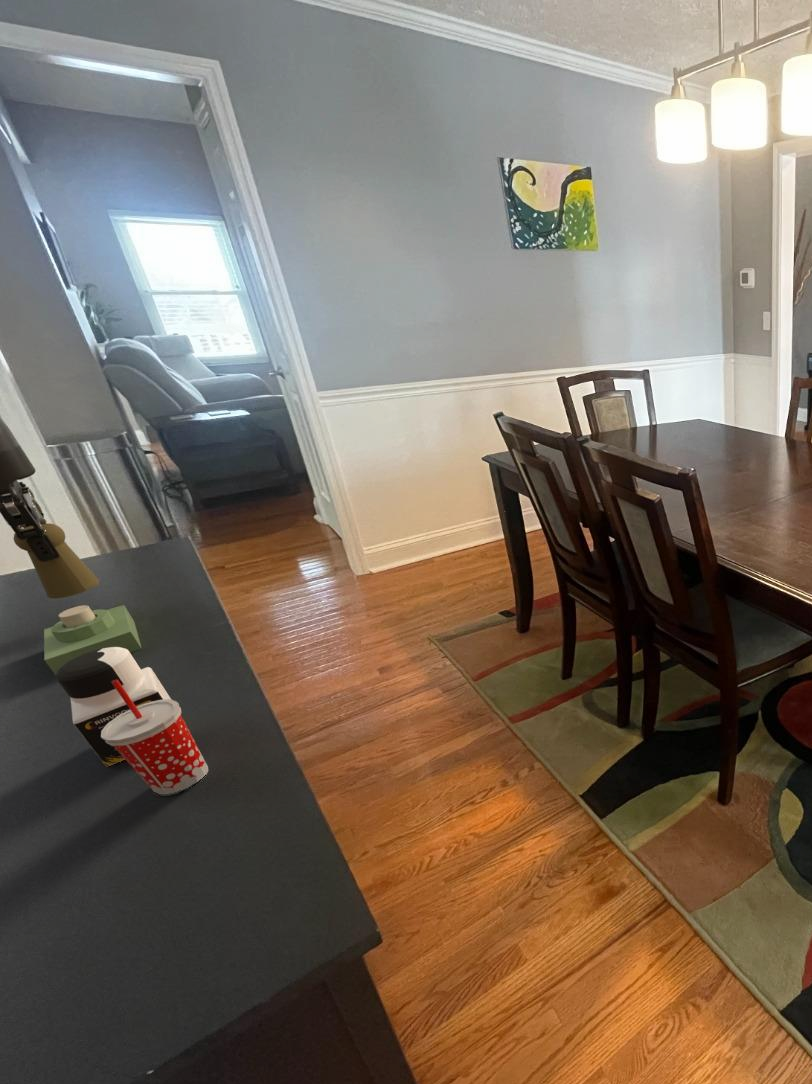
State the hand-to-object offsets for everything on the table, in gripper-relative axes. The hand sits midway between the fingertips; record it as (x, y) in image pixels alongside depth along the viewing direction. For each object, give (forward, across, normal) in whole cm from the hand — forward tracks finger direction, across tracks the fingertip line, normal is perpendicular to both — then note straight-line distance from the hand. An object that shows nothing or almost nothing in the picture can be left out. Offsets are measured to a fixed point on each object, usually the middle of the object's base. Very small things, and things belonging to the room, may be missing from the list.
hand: (50, 553), depth 93 cm
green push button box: (+12, +13, 0) cm, 18 cm away
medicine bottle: (+12, +45, +3) cm, 47 cm away
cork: (+7, 0, 0) cm, 7 cm away
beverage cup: (+12, +58, +5) cm, 59 cm away
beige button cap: (+8, +13, 0) cm, 15 cm away
